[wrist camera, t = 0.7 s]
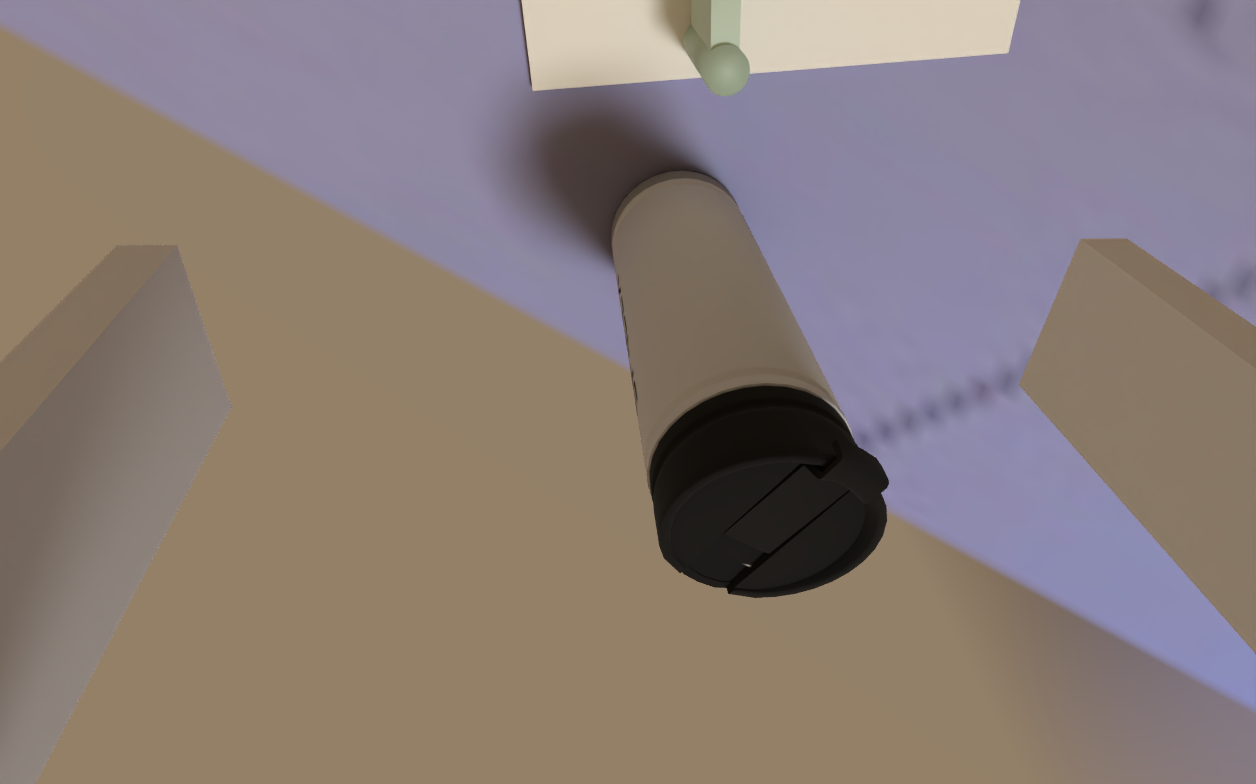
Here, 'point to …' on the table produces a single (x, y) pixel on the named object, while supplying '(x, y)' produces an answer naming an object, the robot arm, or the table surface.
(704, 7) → the hinged rail
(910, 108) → the table surface
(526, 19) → the card
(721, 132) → the table surface
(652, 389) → the travel mug
